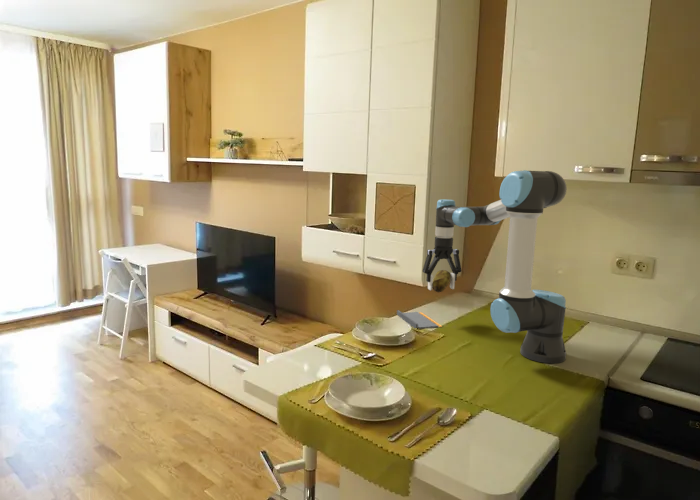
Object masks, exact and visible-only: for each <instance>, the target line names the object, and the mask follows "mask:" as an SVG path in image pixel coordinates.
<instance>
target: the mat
mask: <svg viewBox="0 0 700 500" xmlns="http://www.w3.org/2000/svg"><path fill="white" fill-rule="evenodd" d="M396 315H397V316H398V317H400V318H401V319H402V320H404V321H405V322H406V323H408V325H410V326H411V327H413V329H415V328H419V330H420V329H433V328H438V327H439V326H438V325H436V324H435V323H433V322H432V321H430V320H429V319H427V318H426V317H424V316H423V315H421V314H420V313H419V312H418V311H410V312H409V311H408V312H402V311H400V309H399V310H398V309H397V310H396Z"/></svg>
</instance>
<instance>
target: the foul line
mask: <svg viewBox="0 0 700 500" xmlns="http://www.w3.org/2000/svg"><path fill="white" fill-rule="evenodd" d="M418 313H420V314H421V315H423V316H424V317H426V318H427V319H428V320H430V321H431V322H433V323H434V324H436V325H437V326H438V327H439V328H442V327H443V326H442V325H441V324H440V323H438V322H436V321H435V320H434V319H432V318H431V317H429V316H428V315H426V314H425V313H423V312H422V311H421V312H420V311H419V312H418Z"/></svg>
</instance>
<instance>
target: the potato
mask: <svg viewBox="0 0 700 500" xmlns="http://www.w3.org/2000/svg"><path fill="white" fill-rule="evenodd" d="M450 275H451V272H449V271H448V270H445V269H441V270H438V271H437V272H436V273H435V275H434V276H433V283H432V291H434V292H437V293H442V292H444V290H445V289H446V288H447V287H448V285H449V284H450Z"/></svg>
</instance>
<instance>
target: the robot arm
mask: <svg viewBox="0 0 700 500" xmlns="http://www.w3.org/2000/svg"><path fill="white" fill-rule="evenodd" d="M566 195H567V183H566V180H565V179H564V177H562V175H560V174H559V173H557V172H554V171H550V170H526V169H523V170H515V171H511V172H510V173H508V174H507V175H506V176H505V177H504V178H503V180H502V182H501V184H500V188H499V200H496V201H494V202H491V203H489V204H487V205H484V206H457V205H456V201H455V200H454V199H438V200H437V202H436V208H435V211H436V212H435V229H434V230H435V231H434V235H435V237H434V247H433V249H427V250H426V258H425V261H424V264H423V268H422V273H424V274H426V278H425V279H426V282H427V289H428V290H429V291H433V288H432V283H433V279H434V274H432V273H433V271H434V270H435V268H436V266H437V264H438V263H439V262H440V260H446V261H447V264H448V265H449V267H450V270H451V271H452V272H450V282H449V288H450V289H452V290H455V285H456V284H455V283H456V281H457V276H458V275H459V273H461V272H462V267H461V261H460V250H459V249H457V248H453V245H454V238H453V237H454V230H455V229H454V228H455V226H457V227H461V228H469V227H470V226H471V227H472V226H494V225H495V226H496V225H498V224H500V222H501V221H502V220H503V221H504V220H506V219H509V225H508V226H509V227H508V237H507V238H508V239H507V249H506V250H507V252H506V260H505V261H506V264H505V277H504V285H503V287H502V288H501V289H500V290H499V291H498V292H499V293H498V298H496V299H494V300H493V302H491V304H490V317H491V320H492V322H493V324H494V325H495V326H496V328H497V329H498V330H499V331H501V332H502V333H507V334H508V333H514V334H516V333H519V332H526V334H525V337H524V339H523V342H522V343H521V346H520V351H519V352H520V354H521V356H523V357H524V358H526V359H528V360H531V361H534V362H538V363H543V364H557V363H559V364H560V363H563V362H565V361H566V358H567V351H566V345H565V342H564V338H563V332H564V324H565V316H566V308H567V307H566V304H567V303H566V300H567V299H566V298H565V296H564V295H562V294H561V293H556V292H554V291H549V290H544V289H543V290H542V289H532V282H533V271H534V262H535V261H534V260H535V250H536V249H535V248H536V238H537V230H538V229H537V227H538V218H539V217H541V216H542V215H543V213H544V209H547V208H549V207H552V206H553V207H554V206H557V205H558V204H560V203H561V202H562V201H563V200H564V198H565V196H566ZM452 254H453V257H452ZM453 259H454V261H453Z"/></svg>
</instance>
